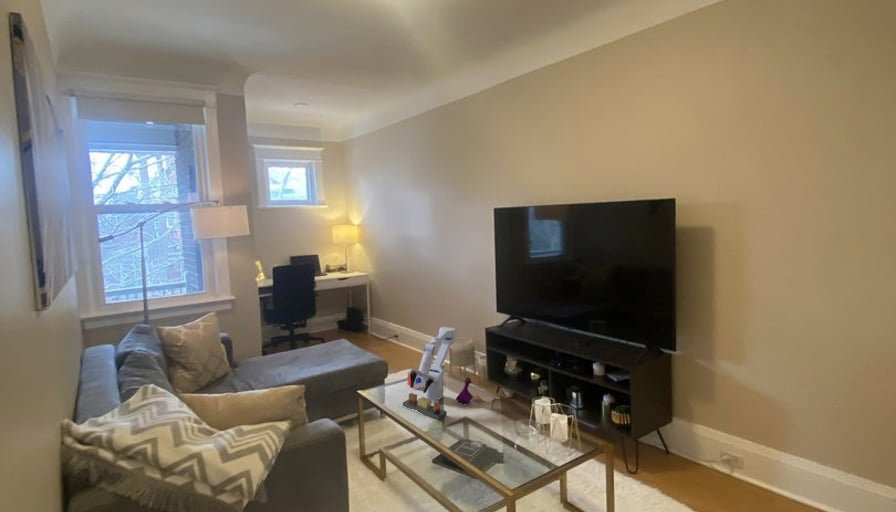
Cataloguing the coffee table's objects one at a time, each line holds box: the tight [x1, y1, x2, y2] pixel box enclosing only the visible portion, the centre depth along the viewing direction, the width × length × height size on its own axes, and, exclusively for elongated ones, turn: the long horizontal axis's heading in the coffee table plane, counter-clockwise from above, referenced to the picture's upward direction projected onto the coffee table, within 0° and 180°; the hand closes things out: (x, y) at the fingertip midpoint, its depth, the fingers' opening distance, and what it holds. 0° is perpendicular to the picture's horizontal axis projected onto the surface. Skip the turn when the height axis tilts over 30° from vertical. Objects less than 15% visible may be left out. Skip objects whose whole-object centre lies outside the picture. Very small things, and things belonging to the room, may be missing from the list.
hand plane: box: [402, 392, 448, 421], centre depth 249 cm, size 7×24×7 cm, turn 55°
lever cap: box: [417, 396, 432, 410], centre depth 249 cm, size 4×6×4 cm, turn 55°
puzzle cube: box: [407, 371, 426, 390], centre depth 282 cm, size 8×8×8 cm
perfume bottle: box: [455, 371, 474, 405], centre depth 260 cm, size 8×8×18 cm
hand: (417, 390), depth 246 cm, fingers open, 7 cm apart
